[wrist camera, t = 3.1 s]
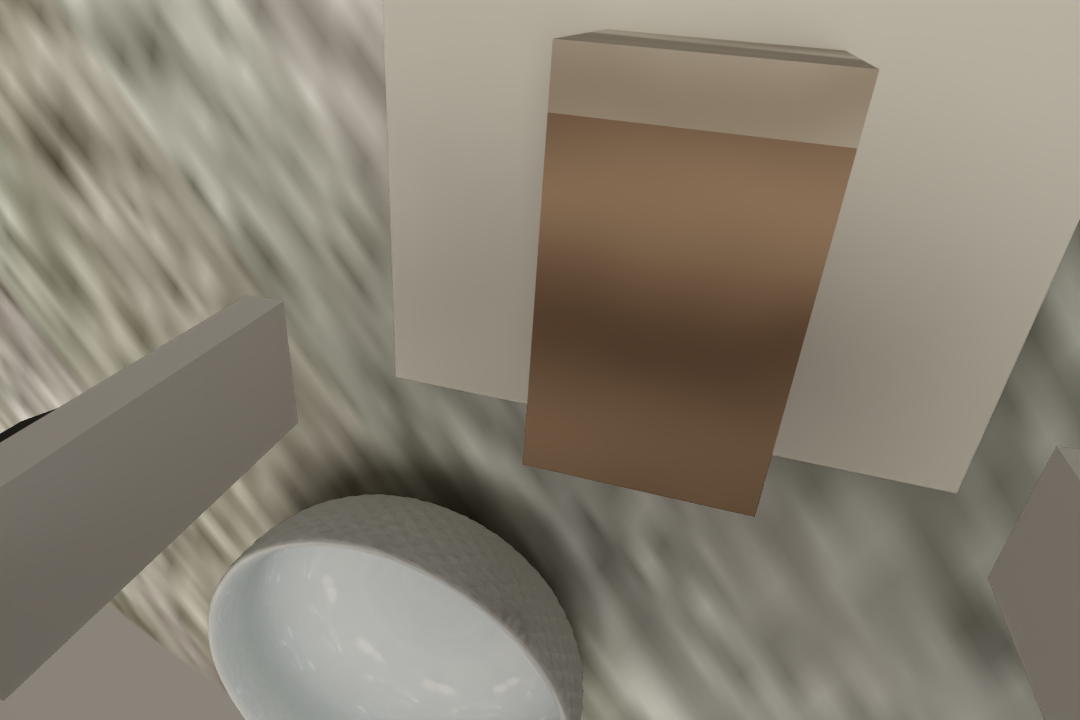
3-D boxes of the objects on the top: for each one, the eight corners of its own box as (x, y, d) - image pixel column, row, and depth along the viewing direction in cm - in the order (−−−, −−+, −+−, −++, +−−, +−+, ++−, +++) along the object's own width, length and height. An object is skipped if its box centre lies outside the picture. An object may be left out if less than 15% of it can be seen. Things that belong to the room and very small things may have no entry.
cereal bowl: (659, 690, 34) (637, 837, 28) (396, 713, 41) (334, 835, 35) (509, 404, 29) (444, 509, 23) (238, 485, 36) (133, 582, 30)
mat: (954, 486, 25) (956, 493, 25) (400, 372, 30) (395, 377, 30) (1610, -994, 11) (1637, -1026, 11) (363, -784, 16) (354, -803, 15)
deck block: (755, 405, 26) (754, 516, 20) (571, 369, 27) (522, 464, 21) (845, 50, 20) (879, 69, 14) (606, 29, 21) (553, 38, 16)
